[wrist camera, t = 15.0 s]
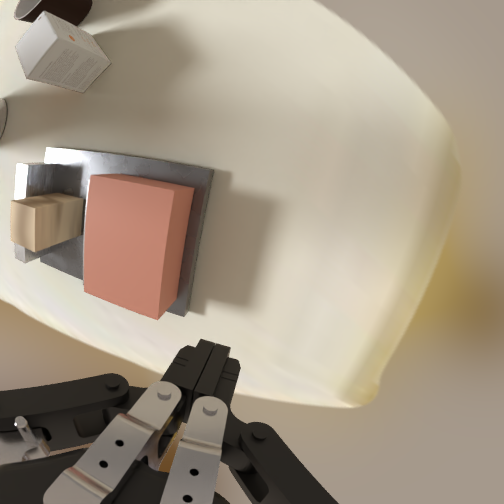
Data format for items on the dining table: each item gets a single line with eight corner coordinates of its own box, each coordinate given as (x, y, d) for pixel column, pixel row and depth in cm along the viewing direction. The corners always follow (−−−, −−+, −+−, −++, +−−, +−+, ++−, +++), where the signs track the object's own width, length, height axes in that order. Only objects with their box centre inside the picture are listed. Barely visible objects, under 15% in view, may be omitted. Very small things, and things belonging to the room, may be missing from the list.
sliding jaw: (106, 275, 30) (81, 290, 26) (116, 173, 27) (87, 174, 22) (176, 299, 30) (157, 320, 25) (194, 187, 26) (174, 190, 22)
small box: (65, 63, 26) (13, 46, 15) (92, 34, 24) (43, 9, 14) (83, 95, 27) (24, 80, 17) (113, 63, 25) (58, 36, 15)
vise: (47, 258, 33) (16, 272, 27) (54, 147, 29) (19, 147, 23) (188, 311, 32) (167, 340, 26) (213, 170, 27) (192, 168, 21)
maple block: (55, 226, 30) (10, 240, 22) (57, 192, 29) (10, 200, 21) (80, 235, 30) (35, 252, 22) (83, 198, 28) (35, 208, 21)
